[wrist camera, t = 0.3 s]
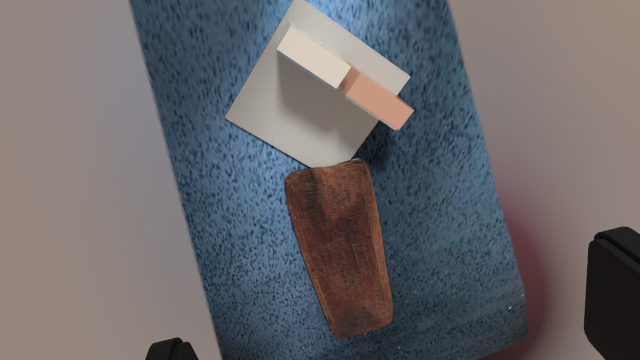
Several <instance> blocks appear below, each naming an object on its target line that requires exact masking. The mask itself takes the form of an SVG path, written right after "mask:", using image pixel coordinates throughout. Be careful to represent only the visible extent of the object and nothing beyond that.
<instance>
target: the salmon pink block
mask: <svg viewBox="0 0 640 360" xmlns="http://www.w3.org/2000/svg"><path fill="white" fill-rule="evenodd" d="M347 63H348V64H349V65H350V66H351V68H350V70H349V71H348V73H347V74H346V76H345V77H344V79H343V80H342V81H341V83H340V84H339V88H340V89H341V91H342V92H343V94H344V95H345V97H346V98H347V99H349V100H350V101H352V102H353V103H355V104H356V105H358V106H359V107H361V108H362V109H364V110H365V111H367V112H368V113H370V114H371V115H373V116H374V117H376V118H377V119H379V120H381V121H382V122H384V123H385V124H387V125H388V126H390V127H391V128H393V129H394V130H396V129H398V130H399V129H400V128H401V127H402V125H403V124H404V123H405V121H406V120H407V119H408V117H409V116H410V115H411V113H412V112H413V111H414V110H413V109H412V108H411V107H409V106H408V105H407V104H406V103H405V102H404V101H402V100H401V99H400V98H399V97H398V96H397V95H395V94H394V93H393V92H392V91H390V90H389V89H387V88H386V87H384V86H383V85H382V84H380V83H379V82H377V81H376V80H374V79H373V78H371V77H370V76H369V75H367V74H366V73H364V72H363V71H361V70H360V69H359V68H357V67H356V66H354V65H353V64H351V63H350V62H348V61H347Z"/></svg>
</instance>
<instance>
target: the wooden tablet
mask: <svg viewBox="0 0 640 360" xmlns="http://www.w3.org/2000/svg"><path fill="white" fill-rule="evenodd" d="M284 185H285V191H286V196H287V202H288V207H289V211H290V214H291V218H292V222H293V225H294V229H295V232H296V236H297V239H298V242H299V245H300V248H301V251H302V254H303V257H304V260H305V263H306V265H307V268H308V271H309V273H310V276H311V279H312V282H313V285H314V287H315V290H316V293H317V295H318V298H319V300H320V303H321V306H322V308H323V311H324V314H325V316H326V317H327V321H328V323H329V325H330V328H331V330H332V331H333V333H334V335H335V336H336V337H337V338H339V339H342V338H347V337H351V336H354V335H358V334H362V333H365V332H367V331H368V330H375V329H378V328H381V327H383V326H385V325H387V324H389V323H390V322H391V320H392V314H393V306H392V297H391V292H390V287H389V281H388V275H387V270H386V263H385V256H384V248H383V242H382V235H381V228H380V223H379V216H378V211H377V205H376V199H375V194H374V187H373V184H372V178H371V175H370V171H369V168H368V166H367V164H366V162H365V161H364V160H362V159H361V158H357V159H353V160H348V161H345V162H342V163H339V164H337V165H333V166H329V167H315V168H307V169H303V170H298V171H295V172H292V173H290V174H289V175H288V176H287V177H286V179H285V183H284Z"/></svg>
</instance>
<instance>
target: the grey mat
mask: <svg viewBox="0 0 640 360" xmlns="http://www.w3.org/2000/svg"><path fill="white" fill-rule="evenodd" d="M288 20H290V21H291V22H292V23H294V24H295V25H297V26H298V27H300V28H301V29H302V30H304V31H305V32H307V33H308V34H310V35H311V36H313V37H314V38H315V39H317V40H318V41H320V42H321V43H323V44H324V45H325V46H327V47H328V48H330V49H331V50H333V51H334V52H336V53H337V54H338V55H340V56H341V57H342V58H343V59H344V60H345V61H346V62H347V61H348V62H350V63H351V64H353V65H354V66H356V67H357V68H359V69H360V70H361V71H363V72H364V73H366V74H367V75H369V76H370V77H371V78H373V79H374V80H376V81H377V82H379V83H380V84H382V85H383V86H384V87H386V88H387V89H389V90H390V91H392V92H393V93H394V94H395V95H398V93H399V92H400V91H401V89H402V88H403V87H404V85H405V84H406V82H407V81H408V80H409V78H410V76H409V75H407V74H406V73H405V72H403V71H402V70H401V69H399V68H398V67H396V66H395V65H394V64H392V63H391V62H389V61H388V60H387V59H385V58H384V57H383V56H381V55H380V54H378V53H377V52H376V51H374V50H373V49H372V48H370V47H369V46H367V45H366V44H365V43H363V42H362V41H360V40H359V39H358V38H356V37H355V36H354V35H352V34H351V33H349V32H348V31H347V30H345V29H344V28H343V27H341V26H340V25H338V24H337V23H336V22H334V21H333V20H331V19H330V18H329V17H327V16H326V15H325V14H323V13H322V12H320V11H319V10H318V9H316V8H315V7H314V6H312V5H311V4H309V3H308V2H307V1H305V0H293V2H292V3H291V5H290V7H289V9H288V10H287V12H286V14H285V15H284V17H283V19H282V20H281V22H280V24H279V26H278V27H277V29H276V31H275V32H274V34H273V36H272V37H271V39H270V41H269V43H268V44H267V46H266V48H265V49H264V51H263V53H262V54H261V56H260V58H259V60H258V61H257V63H256V65H255V66H254V68H253V70H252V72H251V73H250V75H249V77H248V78H247V80H246V82H245V83H244V85H243V87H242V89H241V90H240V92H239V94H238V95H237V97H236V99H235V100H234V102H233V104H232V106H231V107H230V109H229V111H228V112H227V114H226V116H225V118H226V119H227V120H229V121H231V122H233V123H234V124H236V125H238V126H239V127H241V128H243V129H245V130H246V131H248V132H250V133H252V134H253V135H255V136H257V137H259V138H260V139H262V140H264V141H266V142H267V143H269V144H271V145H272V146H274V147H276V148H278V149H279V150H281V151H283V152H285V153H286V154H288V155H290V156H292V157H293V158H295V159H297V160H299V161H300V162H302V163H304V164H305V165H307V166H309V167H311V168H315V167H329V166H333V165H337V164H339V163H342V162H345V161H348V160H350V159H351V158H352V157H353V155H354V154H355V153H356V151H357V150H358V148H359V147H360V146H361V144H362V143H363V142H364V140H365V139H366V137H367V136H368V135H369V133H370V132H371V131H372V129H373V128H374V126H375V125H376V124H377V122H378V121H379V119H377V118H376V117H374V116H373V115H371V114H370V113H368V112H367V111H365V110H364V109H362V108H361V107H359V106H358V105H356V104H355V103H353V102H352V101H350V100H349V99H347V98H346V97H345V95H344V94H343V92H342V91H341V89H340V88H339V86H338V87H337V89H336V88H333V89H332V88H331V87H329V86H327V85H326V84H324V83H323V82H321V81H320V80H318V79H317V78H315V77H314V76H312V75H311V74H309V73H308V72H306V71H305V70H303V69H302V68H300V67H299V66H297V65H296V64H294V63H293V62H291V61H290V60H288V59H287V58H285V57H284V56H282V55H281V54H279V53H278V52H277V45H276V40H277V38H278V36H279V35H280V33H281V31H282V30H283V28H284V26H285V25H286V23H287V21H288Z"/></svg>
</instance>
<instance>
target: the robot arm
mask: <svg viewBox="0 0 640 360" xmlns="http://www.w3.org/2000/svg"><path fill="white" fill-rule="evenodd" d="M584 331H585V334H586V336H587V338H588V340H589V342H590V343H591V344H592V345H593V346H594V348H596V350H597V351H598V352H599V353H600V354H601V355H602V356H603V357H604V359H605V360H640V234H639V233H637V232H636V231H634V230H633V229H631V228H629V227H619V228H615V229H611V230H607V231H603V232H599V233H597V234H596V235H595V236H594V241H591V242H590V243H589V248H588V265H587V281H586V299H585V315H584ZM145 360H198V358H197V356H196V354H195V352H194V350H193V348H192V346H191V344H190V343H189V342H184V343H183V341H182V340H181V339H180V338H173V339H169V340H165V341H161V342H157V343H153V344H152V345H151V347H150V348H149V351H148V354H147V356H146V359H145Z"/></svg>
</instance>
